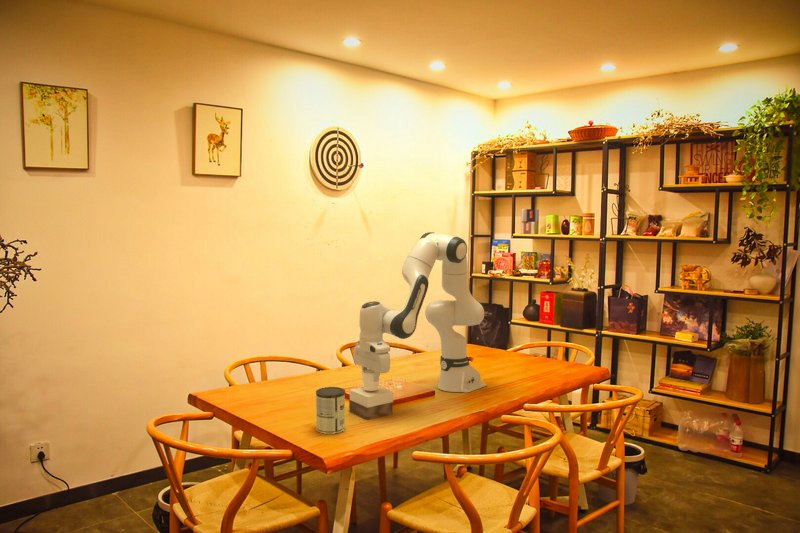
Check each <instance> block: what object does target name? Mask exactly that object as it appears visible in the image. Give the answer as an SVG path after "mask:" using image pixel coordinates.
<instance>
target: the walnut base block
mask: <svg viewBox="0 0 800 533" xmlns="http://www.w3.org/2000/svg"><path fill="white" fill-rule="evenodd" d="M348 402H349V405H348V406H349V407H348V408H349V410H348V412H349V413H351V414H352V415H355V416H356V417H359V418H361V419H363V420H365V421H369V420H373V419H378V418H381V417H385V416H389V415H390V416H391V415H393V402H391V403H386V404H382V405H377V406H373V407H368V408H367V407H365V406H363V405H360V404H358V403H356V402H353V401H351V400H350V399H349V401H348Z"/></svg>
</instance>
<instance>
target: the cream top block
mask: <svg viewBox="0 0 800 533" xmlns="http://www.w3.org/2000/svg"><path fill="white" fill-rule="evenodd" d="M349 400H351V401H353V402H356V403H358V404H360V405H363V406H365V407H367V408H368V407H373V406H377V405H382V404H386V403H391V402H392V403H394V391H392V390H390V389H387V388H384V387H382V386H379V387H378V389H377V390H374V391H368V390H364V386H362V387H357V388H352V389H349Z"/></svg>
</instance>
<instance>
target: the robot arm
mask: <svg viewBox="0 0 800 533" xmlns="http://www.w3.org/2000/svg"><path fill="white" fill-rule="evenodd" d="M467 254H468V245H467V242H466V241H465V240H464V239H463V238H461V237H459V236H455V235H451V234H447V233H439V232H438V233H435V232H430V231H429V232H425V233H423V234H422V235H421V237H420V238H419V239H418V240H417V242H416V243H415V244H414V245H413V246H412V248H411V249H410V252H408V255H407V257H406V259H405V260H404V262H403V265H402V269H401V274H402V277H403V279H404V280H405V282H406V283H407V284H408V285H409V286H410V288H409V294H408V296H407V299H406V302H405V304H404V307H403V308H402V309H401V310H397V309H394V308H390V307H388V306H385V305H383V304H382V303H381V302H380V301H369V302H365V303H364V304H362V306H361V307H360V312H359V328H360V332H359V340H358V341H356V342H355V347H354V350H353V362H354V364H356V365H357V366H359V367H361V372H362V371H363V370H366V369H371V370H374V373H375V375H374V382H378V381H379V382H380V375H381V374H387V373H389V372H390V371H391V370H390V369H391V355H390V352H391V346H390V345H389V344H388V343H386V341H385V340H384V339H383V334H385V333H386V334H388V335H392V336H394V337H395V338H399V339H401V340H406V339H409V338H410V337H411V336H413V334H414V333H415V332H416V329H417V325H418V324H417V323H418V320H419V319H418V317H419V314H420V311H421V308H422V306H423V303H424V300H425V298H426V294H427V292H428V289H429V283H430V282H429V277H430V274H431V272H432V270H433V268H434V265H435V263H436V260H437V261H442V264H441V287H442V289H443V291H444V292H445V293H446V294H449V295H451V296H452V297H453V298H455V300H452V299H451V300H448V299H447V300H446V299H445V300H443V299H440V300H432V301H429V302H428V303H427V305H426V307H425V310H424V315H425V318H426V320H427V322H428V323H429V324H431V325H432V326H433V328H435V330H436V331H437V332H438V336H439V337H440V344H441V346H440V347H441V349H440V350H441V355H440V362H439V363H440V364H439V365H440V372H439V379H438V384H437V389H438V390H441V391H445V392H450V393H451V392H452V393H470V392H474V391H476V390H479V389H482V388H485V387H487V382H485V381H482V380H481V379H482V376H481V373H480V372H479V370H478V369H476V368H475V367H474V366H472V365H471V364H470V362H474V360H475V358H474V357H473V356H467V354H468V353H467V343H468V342H467V341H468V340H467V338H466V337H465V335H463V334H462V333H459V332H457V331H455V329H454V326H456V327H457V326H460V327H461V326H463V327H472V326H477V325H480V324H481V323H482V322H483V320H484V318H485V308H484V306H483V305H482V304H481V303H480V302H479V301H478V300H476V299H475V298H474V297H473V295H472V293H471V291H470V288H469V281H468V280H469V279H468V278H469V276H468V273H469V270H468V268H469V266H468V257H467Z"/></svg>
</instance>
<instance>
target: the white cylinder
mask: <svg viewBox="0 0 800 533" xmlns="http://www.w3.org/2000/svg"><path fill="white" fill-rule="evenodd" d="M361 375H362V385H363V386H362V387H364V390H368V391H374V390H377V389H378V387H380V386H379V384H380V380H379V381H378V382H374V375H375V373H374V370H371V369H368V368H367V369H366V370H363V371H362V370H361Z"/></svg>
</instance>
